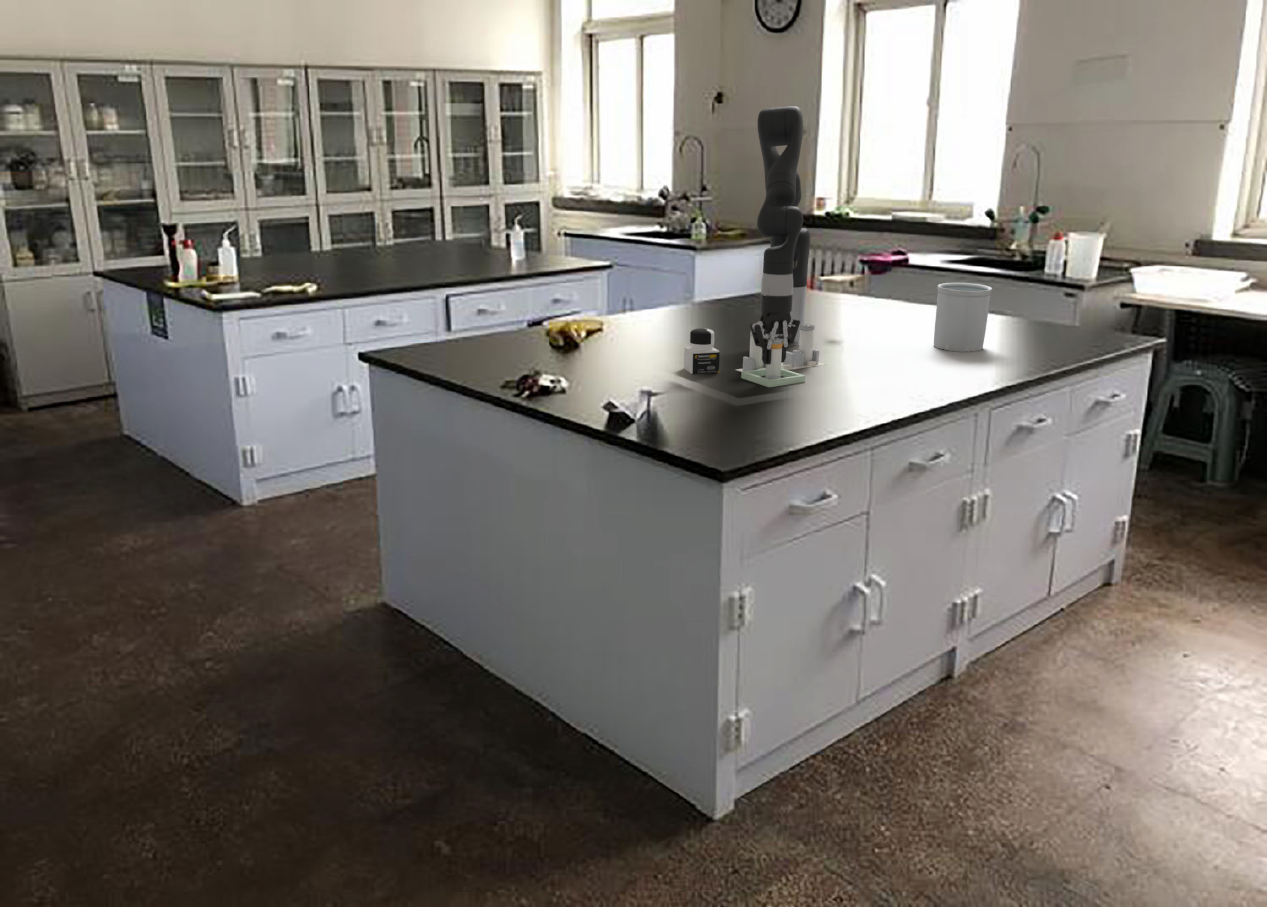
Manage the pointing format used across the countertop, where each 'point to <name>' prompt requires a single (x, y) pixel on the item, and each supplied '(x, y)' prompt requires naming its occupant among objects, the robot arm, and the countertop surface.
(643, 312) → the countertop surface
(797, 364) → the holder
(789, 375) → the tray
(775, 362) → the fuse marked
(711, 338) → the medicine bottle
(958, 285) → the utensil holder
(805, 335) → the white capsule
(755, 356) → the cylinder
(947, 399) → the countertop surface
